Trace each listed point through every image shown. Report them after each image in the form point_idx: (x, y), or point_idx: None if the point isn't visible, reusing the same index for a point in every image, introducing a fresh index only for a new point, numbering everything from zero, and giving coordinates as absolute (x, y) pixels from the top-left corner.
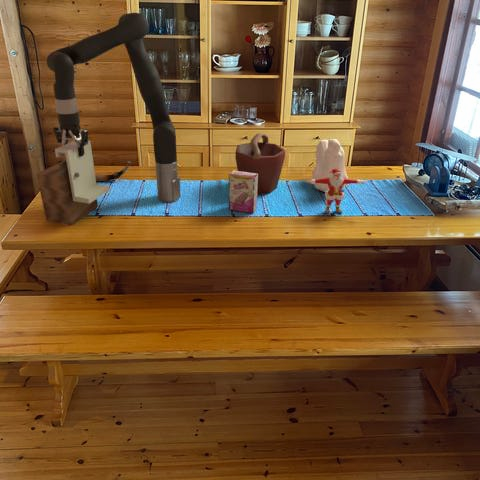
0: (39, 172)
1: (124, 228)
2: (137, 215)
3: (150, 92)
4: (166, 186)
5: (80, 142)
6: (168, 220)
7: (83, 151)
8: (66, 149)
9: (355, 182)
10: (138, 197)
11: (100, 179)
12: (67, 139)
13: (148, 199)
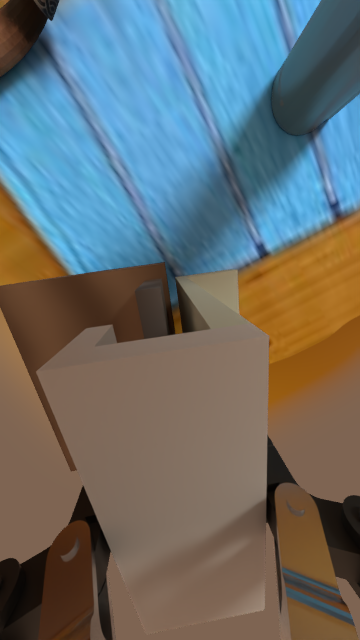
0: (67, 460)
1: (278, 314)
2: (273, 250)
3: None
4: (358, 89)
5: (290, 543)
6: (349, 238)
7: (271, 448)
8: (231, 601)
9: None
10: (216, 141)
11: (6, 64)
12: (85, 615)
13: (250, 140)
